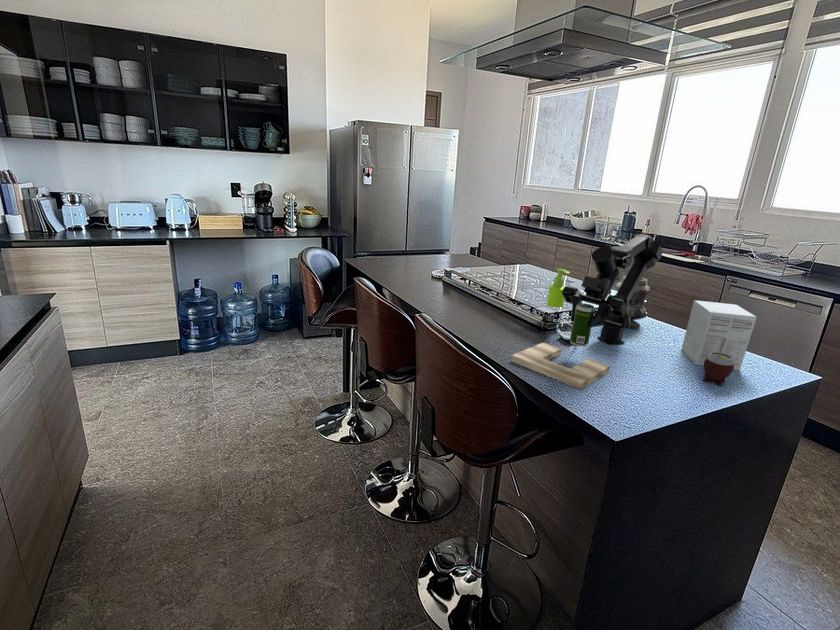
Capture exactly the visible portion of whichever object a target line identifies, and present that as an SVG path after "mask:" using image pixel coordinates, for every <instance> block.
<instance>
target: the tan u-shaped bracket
mask: <svg viewBox="0 0 840 630" xmlns="http://www.w3.org/2000/svg"><path fill="white" fill-rule="evenodd" d="M561 354H562V348H559V347H557V346H554V345H552V344H548V343H547V342H541V343H537V344H536V345H534V346H531V347H529V348H526V349H524V350H521V351H518V352H516V353H514V354H512V356H511V362H512V363H514V364H517V365H520V366H522V367H525V368H527V369H529V370H532V371H534V372H536V373H540V374H542V375H543V376H547V377H549V378H551V377H552V379H554V380H556V379H557V381H559V382H561V381H562V383H564V384H567V385H569V386H571V387H573V388H576V389H579V390H582V389H584V388H586V387H587V386H589V385H591V384H592V383H594V382H595V381H597V380H599V379H601V378H602V377H604V376H605V375H607V374H609V373H610V369H611V368H610V367H611V366H610V365H608V364H606V363H602V362H600V361H596V360H594V359H592V358H587V359H585V360H583V361H581V362H579V363H577V364H576V365H574V366H572V367H571V368H570V367H567V366H564V365H561V364H559V363H556V362H554V361H550V360H553V359H554V358H557V357H558V356H559V357H560V356H561Z"/></svg>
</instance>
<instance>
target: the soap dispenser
mask: <svg viewBox="0 0 840 630" xmlns="http://www.w3.org/2000/svg"><path fill="white" fill-rule="evenodd" d="M555 270H556V271H557V274H556V275H557V276H554V280H553V284H551V285H549V288H548V295H547V302H546V306H550V307H563V308H564V303H565V299H564V297H563V294H562V290H563V288H564V287H565V286H564V280H565V278H564V277H563V273H564V274H565V275H568V274H569V275H570V273H571V272H570V270H569V271H568V270H567V269H564V268H556V269H555Z"/></svg>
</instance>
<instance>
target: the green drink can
mask: <svg viewBox="0 0 840 630" xmlns="http://www.w3.org/2000/svg"><path fill="white" fill-rule="evenodd" d="M595 312H596V311H595V306H594V304H591V303H586V302H585V303H584V302H581V303H579V304H577V306H576V308H575V314H574V319H573V322H572V324H571V331H570V336H569V341H570V344H572V345H573V346H576V347H586V346H588V345H589V342H590V337H591V333H592V332H591V331H592V327H589V323H590V321H591V319H592V318H593V316H594V315H595Z"/></svg>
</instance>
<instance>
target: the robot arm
mask: <svg viewBox="0 0 840 630" xmlns="http://www.w3.org/2000/svg"><path fill="white" fill-rule="evenodd" d="M662 255H663V248H662V246H661V245H660V243H658V242H656V241H655V240H654V239H653V237H652V236H650V235H646V234H642V233H641V234H635V236H634V237H633V238H631V239H630V240H628V241H627V242H626V243H624V244H623V245H620V246H619V245H616V246H615V245H614V246H612V245H609V244H604V246H602V247H599V248H596V249H595V250H593V251H592V254H591V258H592V262H593V265H594V268H595V271H596V272H598V273H597V274H596V276H595V277H592V276H589V275H588V276H587V275H585V276H584V278H583V281H582V283H581V287H582V288H584V289H583V292H584V294H582V293H580V291H579V289H578V287H573V286H569V285H567V286H563V287H564V288H563V290H562V294H563V297H564V302H566V303H568V304H572V308H571V315H570V322H571V323H573V319H574V314H575V308H576V306H577V304H579V303H583V302H585V303H587V304H591V305H596V306H598V307H597V310H596V311H595V312H594V316H593V318H592V319H591V321H590V323H589V327H591V328H592V327H593V326H594V325H596V324H597V323H599V322H600V323H603V325H602V327H601V331H600V336H599V335H598V336H597V337H596V338H597V339H598V340H600V341H602V342H604V343H605V344H608V345H621V344H625V343H626V342H625V341H623V340H622V339H623V334H624V330H625V329H629V328H630V327H629V325H630V322H631V318H630V314H629V312H630V310H629V301H630V299H631V297H632V296H633V294H634V292H635V290H636V288H637V286H638V285H639V283H640V281H641V279H642V278H644V275H645V274H646V271H648V270H649V269H651V268H653V267H655V265H656V264H657V263H658V261H659V260H661V258H662V257H663V256H662ZM632 262H633V264H632ZM631 264H632V265H631ZM630 266H631V267H630ZM628 267H630V269H629V270H628V272H627V274H626V275H625V276H626V277H625V279H624V281H623V283H622V285H621V286H620V288H619V290H617V292H616V293H615V294H614V295H611V294H612V289H613V287H614V285H615V283H616V282H617V281H619V280H620V274H621V273H620V269H622V270H626V269H627V268H628Z"/></svg>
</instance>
